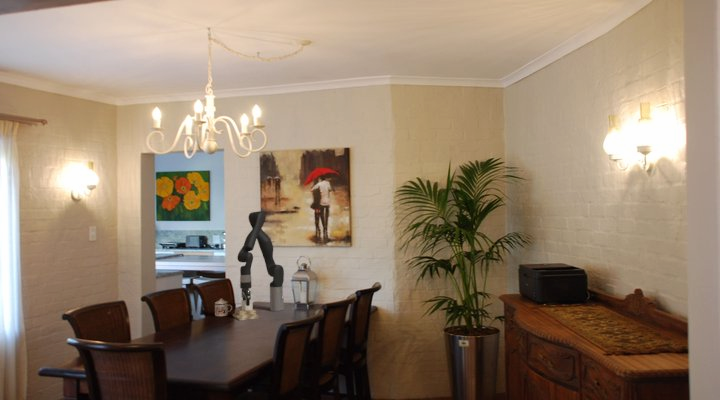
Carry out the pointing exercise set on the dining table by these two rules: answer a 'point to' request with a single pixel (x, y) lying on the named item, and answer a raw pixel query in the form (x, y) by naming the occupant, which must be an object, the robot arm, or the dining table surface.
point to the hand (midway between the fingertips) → (246, 304)
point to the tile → (247, 306)
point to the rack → (245, 314)
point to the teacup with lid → (221, 308)
